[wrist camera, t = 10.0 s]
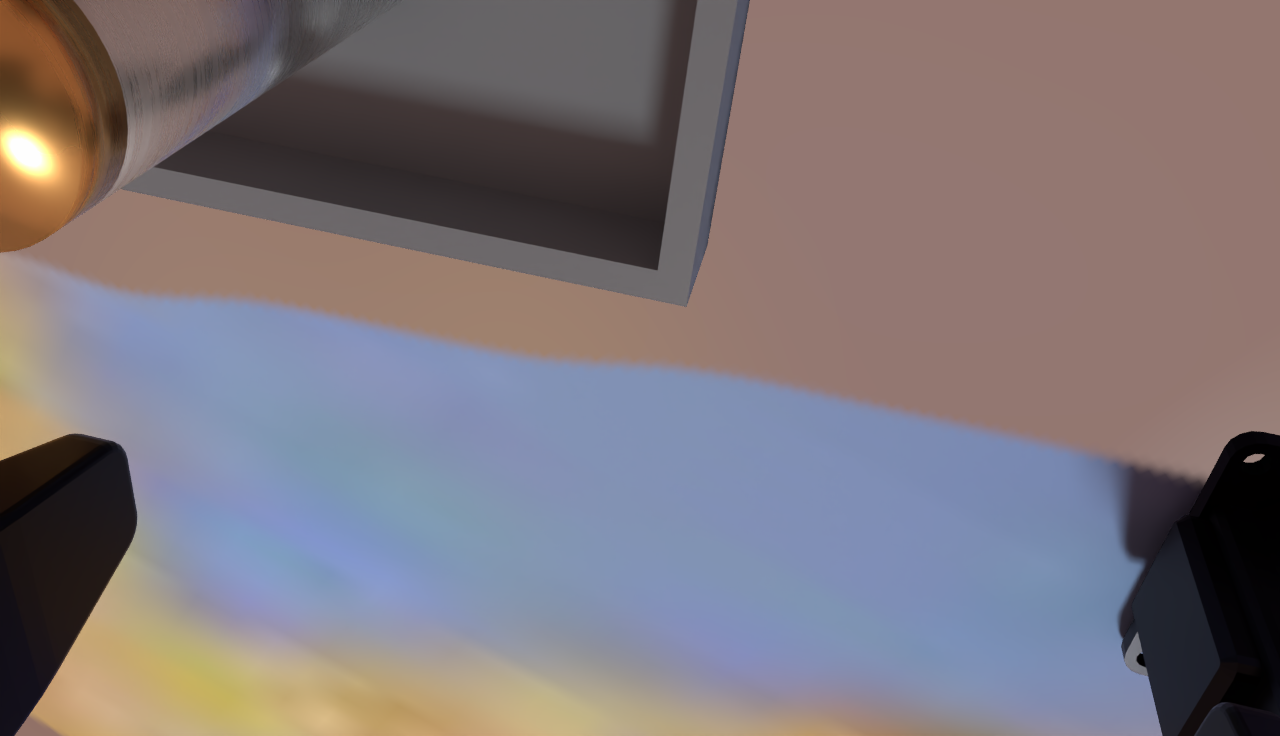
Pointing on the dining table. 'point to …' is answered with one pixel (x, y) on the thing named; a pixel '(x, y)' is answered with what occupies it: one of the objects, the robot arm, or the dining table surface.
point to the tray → (496, 138)
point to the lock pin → (135, 88)
